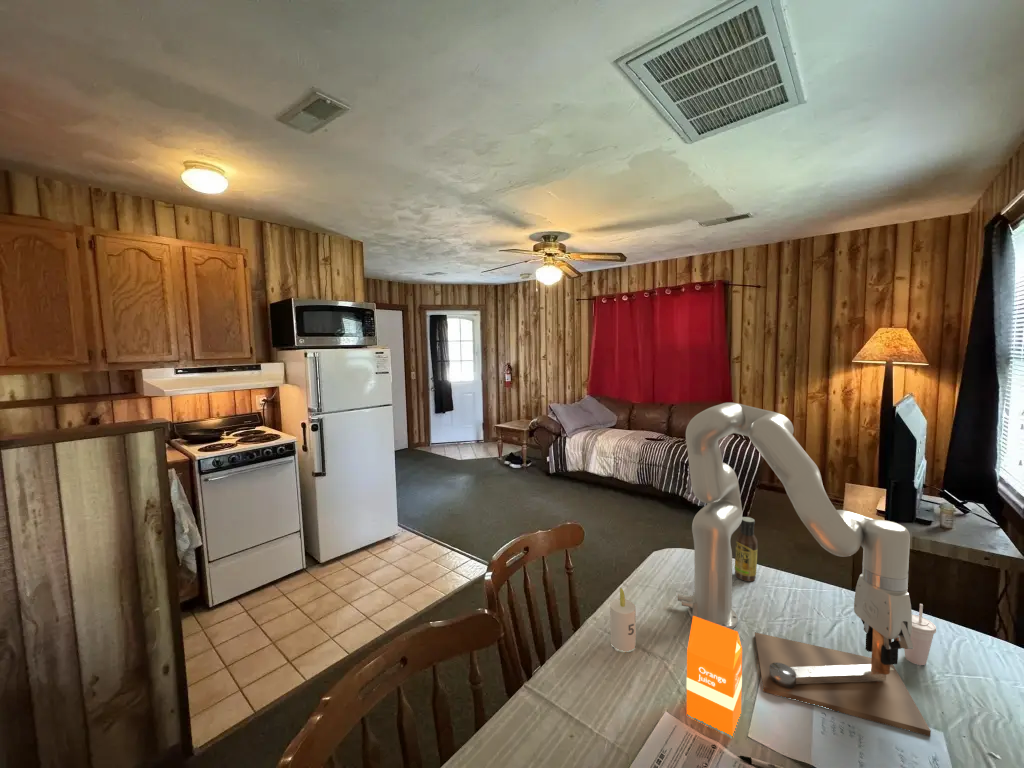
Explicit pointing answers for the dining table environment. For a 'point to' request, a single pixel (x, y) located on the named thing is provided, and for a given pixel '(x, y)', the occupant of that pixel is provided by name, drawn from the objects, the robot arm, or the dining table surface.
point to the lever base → (840, 684)
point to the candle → (623, 623)
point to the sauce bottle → (746, 551)
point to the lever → (833, 670)
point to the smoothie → (920, 639)
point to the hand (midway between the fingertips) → (881, 656)
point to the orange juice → (714, 675)
